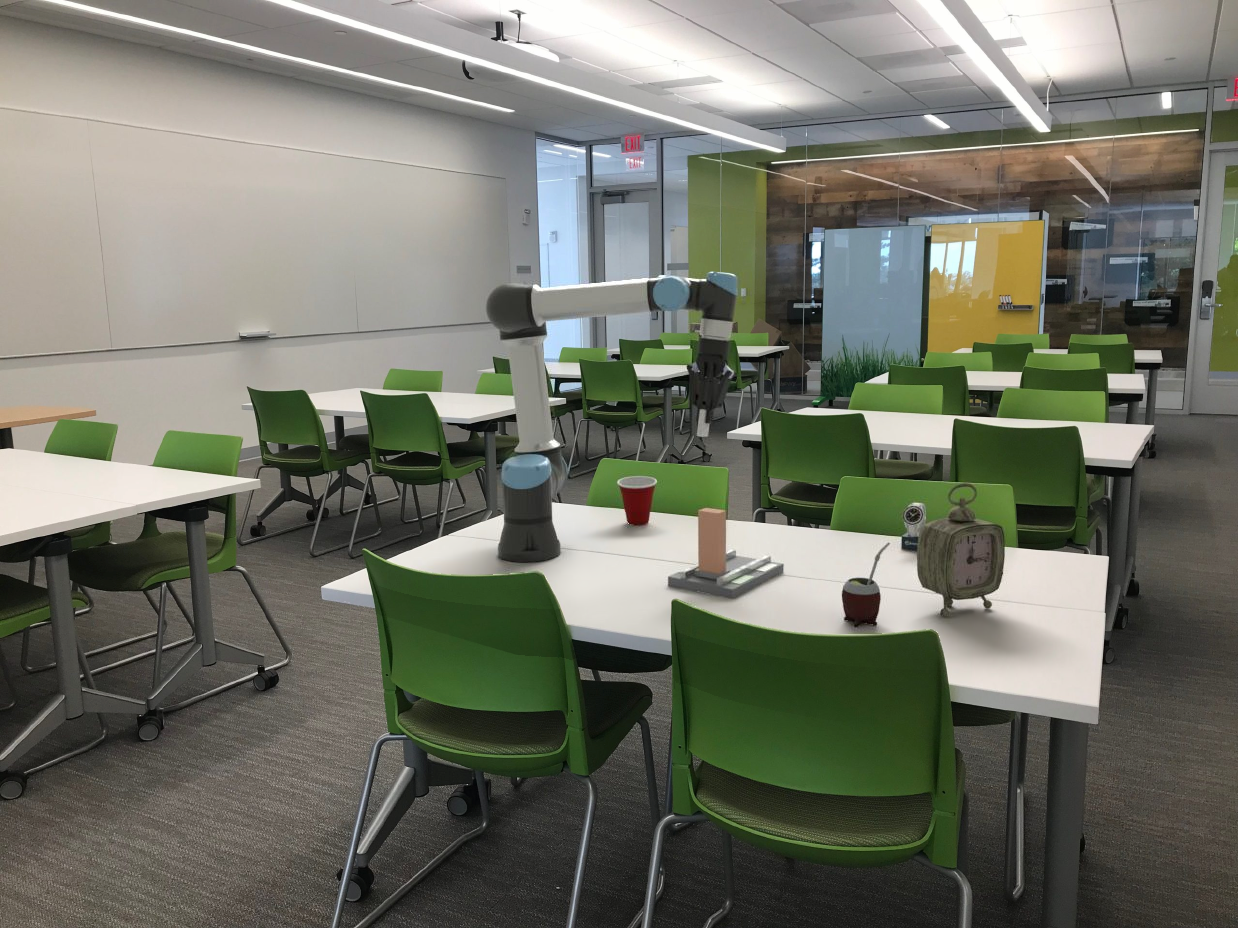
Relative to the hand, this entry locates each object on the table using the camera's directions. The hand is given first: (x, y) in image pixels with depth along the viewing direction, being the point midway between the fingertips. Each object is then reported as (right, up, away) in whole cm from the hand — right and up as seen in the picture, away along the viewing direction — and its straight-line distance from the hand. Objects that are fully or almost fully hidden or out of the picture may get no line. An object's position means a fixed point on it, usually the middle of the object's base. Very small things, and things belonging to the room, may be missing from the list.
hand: (702, 436), depth 229 cm
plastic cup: (-15, -23, +29) cm, 40 cm away
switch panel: (+3, -32, -22) cm, 39 cm away
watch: (+51, -27, -1) cm, 58 cm away
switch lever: (0, -31, -28) cm, 41 cm away
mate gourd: (+26, -37, -50) cm, 67 cm away
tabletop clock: (+46, -35, -44) cm, 73 cm away
